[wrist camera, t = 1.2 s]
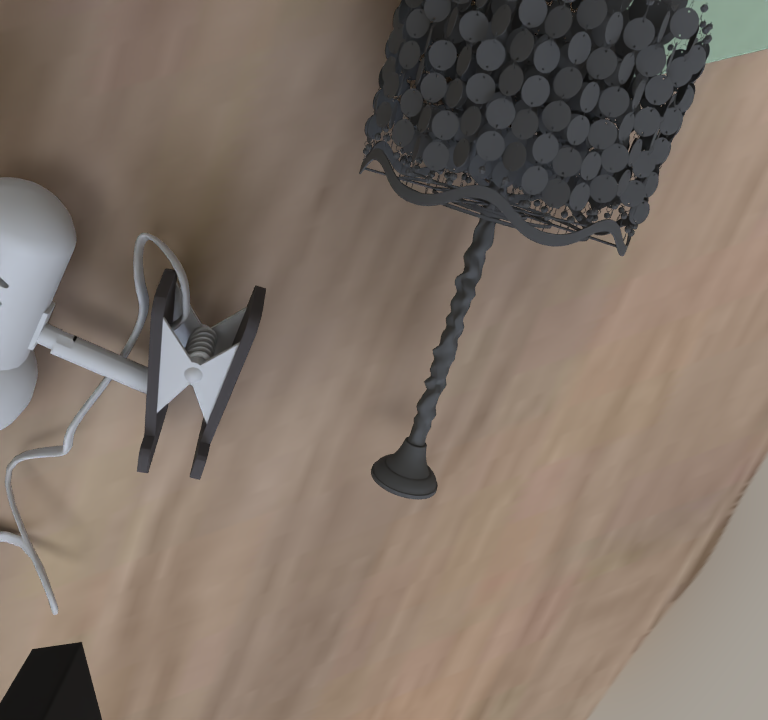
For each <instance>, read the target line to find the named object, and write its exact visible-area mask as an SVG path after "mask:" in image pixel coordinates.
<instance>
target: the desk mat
mask: <svg viewBox="0 0 768 720" xmlns="http://www.w3.org/2000/svg"><path fill="white" fill-rule="evenodd" d="M633 1H634V0H633ZM633 1H632V2H633ZM632 2H631V3H630V5H629V6H631V4H632ZM692 2H693V1H692V0H688V3H687V6H686V7H690V8H691V7H692V9H693V10H695V11H696V13H697V14H698V17H699V25H700V23H701V19H700V17H701V15H702V21H704V20H705V22H706V25H707V24H710V23H711V22H712V23H711V24H713V28H712V29H711V30H710V31H709V32H708V34H707V35H711V36H712V40H711V42H710V43H708V44H709V46H710V53H709V56H708V58H707V60H706V62H705V64H706V63H710V62H714V61H718V60H722V59H726V58H731V57H735V56H739V55H743V54H747V53H752V52H756V51H760V50H764V49H768V0H694V3H692ZM691 3H692V4H691ZM707 3H708V4H707ZM690 4H691V5H690ZM703 4H707V6H708V10H707V11H706V12H704V13H702V12H701V10H700V7H701V6H702V5H703ZM692 5H693V6H692ZM627 9H628V8H627ZM688 12H690V11H689V10H688ZM702 29H703V28H702ZM702 29H701V27H700V26H699V31H698V34H697V37H696V38H698V42H699V41H701V40H703V39H704V38H705V36H706V34H703V33H702ZM700 30H701V32H700ZM699 32H700V33H701V34H699ZM710 33H711V34H710ZM701 35H702V37H703V35H704V38H702V37H701ZM679 36H681V35H679ZM700 38H702V39H700ZM699 39H700V40H699ZM686 40H687V39H682V40H681V39H677V38H676V37H675V38H673V39H672V40H671V41H670V42H669V43H667V44H665V45H664V48H665V54H666V55H668V56H670V54H671V53H672V51H673V50H672V51H669V50H668V49H667V47H668V45H669V44H672V45H674V46H675V44H676V42H678V43H677V44H678V45H677V47H676V50H678V49H684V50H686V48H687V45H688V42H689V39H688V40H687V41H686ZM674 41H675V43H674ZM679 43H680V44H679ZM685 43H686V44H685ZM683 44H685V45H683ZM702 44H703V43H702ZM681 45H682V46H681ZM680 47H681V48H680ZM673 49H674V48H673ZM668 52H669V54H668ZM682 52H683V51H681V53H682ZM668 56H666V63H667V59H668ZM666 68H667V66H666V65H665V67H664V69H663V71H664V70H665V71H664V72H663V71H662V72H663V74H664V73H667V72H666ZM659 74H660V73H659ZM659 74H658V75H659ZM661 74H662V73H661ZM634 77H636V76H635V74H634Z"/></svg>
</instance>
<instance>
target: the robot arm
mask: <svg viewBox="0 0 768 720" xmlns="http://www.w3.org/2000/svg"><path fill="white" fill-rule="evenodd" d="M0 720H102V718H101V714H100V710H99V706H98V702H97V699H96V695H95V691H94V687H93V683H92V680H91V676H90V672H89V668H88V664H87V660H86V657H85V653H84V649H83V645H82V642H79V643H72V644H65V645H58V646H51V647H45V648H38V649H32V651H31V653H30V654H29V656H28V658H27V659H26V661H25V663H24V664H23V666H22V668H21V669H20V671H19V673H18V674H17V676H16V678H15V679H14V681H13V683H12V684H11V686H10V688H9V689H8V691H7V693H6V694H5V696H4V698H3V699H2V701H1V703H0Z"/></svg>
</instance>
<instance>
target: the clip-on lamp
mask: <svg viewBox="0 0 768 720" xmlns="http://www.w3.org/2000/svg"><path fill="white" fill-rule="evenodd" d="M148 240H152V241H153V242H154V243H155V244H156V245H157V246H159V248H160V249H161V250H162V251H163V252H164V254H165V255H166V256H167V258H168V259H169V261H170V262H171V264H172V266H173V268H174V270H171V269H165V270H164V273H163V275H162V278H161V280H160V283H159V285H158V288H157V290H156V293H155V297H154V301H153V306H152V312H151V326H150V344H149V362H148V367H146V366H144V365H141V364H139V363H137V362H134V361H132V360H130V359H127V356H128V355H129V353H130V351H131V349H132V348H133V346H134V344H135V342H136V340H137V338H138V336H139V334H140V332H141V330H142V328H143V325H144V323H145V320H146V317H147V314H148V309H149V296H148V292H147V288H146V284H145V278H144V271H143V250H144V245H145V243H146V241H148ZM76 241H77V239H76V231H75V228H74V224H73V221H72V218H71V215H70V214H69V212H68V210H67V209H66V207H65V206H64V205H63V203H62V202H61V201H60V200H59V199H58V198H57V197H56V196H55V195H54V194H53V193H51V192H50V191H49V190H47V189H46V188H44V187H42V186H41V185H39V184H36V183H34V182H32V181H28V180H24V179H20V178H13V177H1V178H0V430H1V429H3V428H5V427H7V426H8V425H10V424H11V423H12V422H13V421H14V420H15V419H16V418H17V417H18V416H19V415H20V414H21V412H22V411H23V410H24V409H25V408H26V407H27V405H28V404H29V402H30V401H31V398H32V396H33V393H34V389H35V385H36V382H37V377H38V366H37V360H36V356H35V351H34V348H35V346H36V345H37V344H40V345H42V346H44V347H47V348H49V349H52V350H51V353H50V354H53V355H55V356H57V357H60V358H62V359H65V360H67V361H69V362H72V363H74V364H76V365H79V366H81V367H83V368H86V369H88V370H91V371H93V372H95V373H98V374H100V375H102V376H105V378H104V379H103V380H102V382H101V383H100V384H99V386H98V387H97V388H96V390H95V391H94V392H93V394H92V395H91V396H90V397H89V399H88V400H87V401H86V403H85V404H84V405H83V407H82V408H81V409H80V411H79V412H78V413H77V415H76V416H75V417H74V419H73V421H72V422H71V424H70V425H69V427H68V429H67V431H66V434H65V436H64V442H63V446H53V447H44V448H37V449H33V450H28V451H25V452H23V453H21V454H19V455H17V456H15V457H14V459H13V460H12V461H11V462H10V463H9V465H8V466H7V469H6V477H5V487H6V491H7V495H8V500H9V504H10V507H11V510H12V513H13V515H14V518H15V521H16V523H17V526H18V529H19V531H20V534H21V536H20V535H17V534H14V533H11V532H8V531H0V542H8V543H11V544H13V545H16V546H19V547H21V548H22V549H23V551H24V552H25V553H26V554H27V555H28V556H29V557H30V558H31V559H32V562H33V564H34V566H35V569H36V571H37V573H38V575H39V578H40V580H41V582H42V585H43V587H44V590H45V592H46V595H47V598H48V600H49V604H50V607H51V610H52V613H53V614H54V615H56V614H57V613H58V606H57V603H56V600H55V597H54V594H53V591H52V588H51V585H50V582H49V580H48V577H47V574H46V572H45V569H44V566H43V564H42V562H41V561H40V559H39V557H38V555H37V553H36V551H35V549H34V548H33V545H32V543H31V541H30V539H29V536H28V534H27V532H26V530H25V527H24V524H23V522H22V519H21V517H20V514H19V511H18V509H17V506H16V503H15V499H14V495H13V490H12V486H11V476H12V469H13V468H14V467H15V466H16V464H17V463H19V462H21V461H24V460H26V459H32V458H42V457H57V456H63V455H65V454H67V453H68V452H69V450H70V449H71V448H72V446H73V437H74V433H75V431H76V428H77V426H78V425H79V423H80V422H81V420H82V418H83V417H84V415H85V414H86V413H87V411H88V410H89V409H90V408H91V406H92V405H93V404H94V402H95V401H96V400H97V398H98V397H99V396H100V395H101V393H102V392H103V391H104V389H105V388H106V387H107V385H108V384H109V383H110V381H111V380H114V381H117V382H119V383H121V384H124V385H126V386H128V387H131V388H133V389H135V390H138V391H140V392H143V393H145V394H147V398H146V416H145V434H144V438H143V441H142V444H141V447H140V452H139V458H138V466H137V471H138V472H144V473H148V472H149V468H150V465H151V462H152V458H153V455H154V452H155V448H156V445H157V442H158V439H159V435H160V432H161V429H162V425H163V422H164V419H165V415H166V412H167V408H168V404H169V402H170V401H171V400H172V399H173V398H174V397H175V396H177V395H178V394H179V393H180V392H181V391H182V390H183V389H184V388H185V387H187V386H188V385H189V384H190V385H192V386H193V388H194V391H195V394H196V396H197V399H198V402H199V405H200V407H201V410H202V413H203V416H204V418H203V422H202V426H201V430H200V435H199V439H198V443H197V447H196V452H195V456H194V460H193V464H192V469H191V473H190V477H191V478H195V479H199V480H200V478H201V475H202V472H203V469H204V466H205V463H206V460H207V456H208V452H209V447H210V443H211V441H212V439H213V436H214V434H215V431H216V429H217V427H218V424H219V422H220V419H221V417H222V415H223V412H224V410H225V407H226V405H227V403H228V400H229V398H230V395H231V393H232V391H233V388H234V386H235V384H236V381H237V379H238V376H239V374H240V372H241V369H242V367H243V364H244V362H245V360H246V357H247V355H248V352H249V350H250V348H251V345H252V343H253V340H254V338H255V336H256V333H257V330H258V327H259V323H260V320H261V316H262V311H263V305H264V299H265V293H266V288H262V287H259V286H256V285H255V287H254V290H253V292H252V295H251V297H250V300H249V302H248V305H247V307H246V308H244V309H242V310H240V311H239V312H237V313H235V314H233V315H232V316H230V317H228V318H226V319H225V320H223V321H221V322H219V323H217V324H216V325H214V326H212V327H209V326H207V325H205V324H202V323H201V321H200V320H199V318H198V316H197V315H196V313H195V312H194V310H193V308H192V307H191V305H190V290H189V283H188V279H187V276H186V273H185V271H184V269H183V267H182V265H181V263H180V261H179V260H178V258H177V257H176V256H175V254H174V253H173V252H172V251H171V249H170V248H169V247H168V246H167V245H166V244H165V243H164V242H162V241H161V240H160V239H159V238H157V237H155V236H153V235H151V234H149V233H141V234H140V235H139V236H138V237H137V240H136V242H135V248H134V260H133V267H134V281H135V288H136V292H137V297H138V301H139V314H138V319H137V321H136V324H135V327H134V330H133V332H132V334H131V336H130V338H129V340H128V342H127V344H126V345H125V347H124V349H123V351H122V352H121V354H120V355H118V354H116V353H114V352H111V351H109V350H107V349H105V348H102V347H100V346H98V345H95V344H93V343H91V342H89V341H86V340H84V339H82V338H79V337H77V336H74V335H72V334H69V333H67V332H64V331H62V329H59V328H57V327H55V326H52V325H50V324H48V320H49V318H50V316H51V313H52V311H53V309H54V306H55V304H56V303H55V302H53V301H52V300H53V297H54V295H55V293H56V290H57V288H58V286H59V283H60V281H61V279H62V276H63V274H64V272H65V270H66V267H67V265H68V263H69V260H70V258H71V256H72V253H73V251H74V249H75V245H76ZM177 276H178V280H179V283H180V287H181V289H180V287H179V285H178V284H177Z"/></svg>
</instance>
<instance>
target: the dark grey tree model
mask: <svg viewBox="0 0 768 720" xmlns="http://www.w3.org/2000/svg"><path fill="white" fill-rule="evenodd" d="M474 1H475V2H476V3H475V4H476V5H474V6H472V5H471V2H472V0H402V1H401V4H400V6H399V7H398V8H397V9H396V11H395V13H394V17H393V28H394V30H393V31H392V32H391V34H390V36H389V39H388V41H387V43H386V48H385V54H386V58H387V60H386V62H385V64H384V66H383V67H382V69H381V71H380V74H379V86H380V88H382V89H380V90H379V91H378V92H377V93H376V95H375V97H374V100H373V109H374V114H373V115H372V116H371V117H370V118H369V119H368V120H367V122H366V124H365V134H366V136H367V142H368V143H369V144H367V145H366V148H364V150H363V153H364V154H367V155H366V158H365V157H364V158H365V159H363V160H364V161H363V162H362V165H361V169H360V172H359V174H361V173H362V172H363V171H364V170H368V171H371V172H375V173H379V174H382V175H386V176H387V179H388V181H389V183H390V185H391V186H392V188H393V189H394V191H395V192H396V193H397V194H398V195H399V196H400V197H401V198H403V199H404V200H406V201H408V202H410V203H413V204H416V205H421V206H435V205H443V206H446V207H449V208H452V209H454V210H457V211H460V212H463V213H466V214H469V215H472V216H475V217H478V218H480V220H479V223H478V225H477V226H476V228H475V230H474V234H473V242H472V244H471V246H470V247H469V248H468V250H467V251H466V252H465V254H464V263H465V268H464V271H463V273H462V274H460V275H459V276H457V277H456V279H455V286H456V289H457V293H456V295H455V296H454V297H453V299H452V300H451V304H450V305H451V313H450V314H449V315H448V316H447V317H446V324H447V326H446V329H445V330H444V331H443V333H442V335H441V340H440V344H439V346H437V347H436V348H434V349H433V355H434V361H433V363H432V365H431V368H430V372H431V377H429V378H428V379H426V380H425V381H424V382H425V385H426V388H427V390H426V392H425V393H424V394H423V395H422V398H421V399H420V400H419V402H418V404H417V406H416V407H417V411H418V414H417V415H416V416H415V417H414V424H413V427H412V430H411V433H410V436H409V437H407V438H406V439H405V440H404V442H403V444H402V445H401V447H400V448H399V449H398V450H397V451H396V452H395V453H394V454H390V455H386V456H384V457H382V458H380V459H379V460H378V461H377V462H375V463H374V464H373V466H372V469H371V475H372V478H373V479H374V481H375V482H376V483H377V484H378V485H379V486H381V487H382V488H383V489H385V490H387V491H388V492H391V493H393V494H395V495H398V496H401V497H404V498H409V499H426V498H430V497H432V496H433V495H434V494H435V493H436V490H437V487H438V486H437V481H436V477H435V475H434V473H433V471H432V470H431V469H430V467H429V466H428V465H427V462H426V447H427V444H426V443H425V440H426V436H427V433H428V431H429V430H430V428H431V422H432V420H433V419H434V417H435V416H436V409H435V408H436V404H437V401H438V398H439V396H440V394H441V392H442V391H443V389H444V388H445V386H446V376H447V374H448V371H449V367H450V366H451V364H452V362H453V361H454V359H455V354H456V350H457V346H458V343H457V342H458V338H459V337H460V336H461V334H462V332H463V329H464V324H463V318H464V316H465V314H466V313H467V311H468V309H469V307H470V303H471V300H472V299H473V298H474V297H475V295H476V294H475V286H476V284H477V283H478V281H479V280H480V278H481V275H482V268H483V265H484V262H485V253H486V251H487V250H488V249H489V248H490V247H491V246H492V243H493V239H494V229H495V224H496V223H498V224H502V225H505V226H509V227H512V228H516V229H517V230H518V231H519V232H520V233H522V234H523V235H524V236H525V237H527V238H528V239H530V240H532V241H534V242H536V243H539V244H542V245H547V246H565V245H570V244H573V243H575V242H578V241H587V240H588V239H589V238H590V239H593V240H596V241H599V242H602V243H605V244H608V245H611V246H613V247H616V248H617V251H618V253H619V255H620V256H624V254H625V252H626V250H627V247H628V245H629V242H630V239H631V236H633V235H634V232H635V231H634V230H633V229H637V227H638V224H640V223H642V222H643V221H644V220H645V219H646V218H647V216H648V214H649V210H650V209H649V204H648V197H650V196H651V195H652V194H653V193H654V192H655V190H656V188H657V186H658V180H659V179H658V176H659V167H660V166H661V167H662V164H663V163H664V162H665V161H666V159H667V157H668V155H669V153H670V149H671V142H672V140H673V138H674V136H675V135H676V134H677V133H678V132H679V130H680V128H681V125H682V121H683V116H684V114H685V112H686V110H688V108H689V107H690V106H691V104H692V102H693V98H694V94H695V85H694V83H695V82H694V81H695V80H696V79H697V78H699V77H700V75H701V74H702V72H703V70H704V67H705V62H706V60H707V58H708V56H709V53H710V46H709V44H708V43H710V42H711V40H712V36H711V35H707V34H708V32H709V31H710V30H711V29H712V28H713V24H711V23H712V22H711V23H710V24H707V25H706V22H705V20H704V21H702V15H701V17H700V19H701V23H700V25H699V17H698V14H697V13H696V11H695V10H693V9H692V7H691V8H690V7H686V6H687V3H688V0H634V1H633V0H558V1H557V0H553V2H552V5H551V6H549V5H550V4H549V5H547V4H546V2H550V1H552V0H474ZM545 1H546V2H545ZM632 1H633V2H632ZM692 1H693V2H692V3H694V0H692ZM571 2H572V9H575V11H576V8H577V9H578V10H577V12H576V13H573V12H571V10H570V4H569V3H571ZM631 2H632V4H631V6H629V5H630V3H631ZM692 3H691V4H692ZM691 4H690V5H691ZM707 4H708V3H707ZM707 4H703V5H702V6H701V7H700V10H701V12H702V13H704V12H706V11H707V10H708V6H707ZM578 6H579V7H578ZM692 6H693V5H692ZM476 8H477V9H476ZM627 8H628V9H627ZM688 10H689V11H690V12H688ZM572 11H573V10H572ZM572 15H573V17H572ZM434 17H435V19H433V18H434ZM430 20H431V21H433V22H432V23H430V22H431V21H430ZM699 26H700V27H701V29H702V28H703V29H702V33H703V34H706V36H705V38H704V35H703V37H702V35H701V37H702V38H704V39H703V40H701V41H699V42H698V38H696V37H697V34H698V31H699ZM537 30H539V32H538V31H537ZM700 32H701V30H700ZM700 32H699V34H701V33H700ZM535 33H537V34H538V35H537V34H536V36H535ZM710 34H711V33H710ZM679 35H681V36H679ZM565 37H566V39H565ZM675 37H676V38H677V39H681V40H682V39H687V40H688V39H689V42H688V45H687V48H686V50H684V49H678V50H676V47H677V45H678V44H677V43H678V42H676V44H675V46H674V45H672V44H669V45H668V47H667V49H668V50H669V51H672V50H673V51H672V53H671V54H670V56H668V55H666V54H665V48H664V45H665V44H667V43H669V42H670V41H671V40H672V39H673V38H675ZM702 38H700V39H702ZM700 39H699V40H700ZM687 40H686V41H687ZM432 42H433V43H432ZM674 43H675V41H674ZM702 43H703V44H702ZM679 44H680V43H679ZM685 44H686V43H685ZM685 44H683V45H685ZM430 45H431V47H430V48H429V46H430ZM681 46H682V45H681ZM673 48H674V49H673ZM680 48H681V47H680ZM681 51H683V52H682V53H681ZM457 53H458V54H460V55H459V56H458V57H457ZM422 54H425V55H424V57H423V58H421V59H422V60H421V61H420V60H419V58H420V57H421V55H422ZM668 54H669V52H668ZM666 56H668V59H667V63H666ZM665 65H666V66H667V68H666V72H667V76H665V75H661V73H662V74H663V72H664V71H665V70H664V71H663V69H664V67H665ZM423 68H424V71H425V73H422V72H424V71H423ZM401 71H402V72H403V73H401ZM426 71H429V72H430V74H428V73H426ZM662 71H663V72H662ZM659 73H660V74H659ZM634 74H635V76H636V77H634ZM658 74H659V75H658ZM400 75H401V76H400ZM423 75H424V76H423ZM437 76H438V77H437ZM449 76H450V78H451V79H452V80H453V81H450V82H448V83H447V82H446V80H445V78H446V77H449ZM409 77H410V78H409ZM663 78H664V80H663ZM407 79H408V80H416V81H415V85H416V89H414V88H413V87H412V88H411V89H410V84H409V83H407ZM677 88H679V89H677ZM414 91H415V93H414ZM675 91H676V92H677V93H676V94H674V95H673V92H675ZM401 94H402V95H401ZM388 95H389V97H388ZM400 95H401V101H400V102H399V101H398V100H397V99H398V98H399V96H400ZM672 95H673V96H672ZM394 96H398V98H397V97H396V98H397V99H396V98H395V99H394V98H393V97H394ZM515 96H516V97H515ZM424 99H425V100H426V101H427V102H428V103H427V104H429V102H430V103H431V105H427V104H426V103H423V101H424ZM441 99H442V102H443V103H444V104H445V105H439V106H438V105H437V106H436V105H433V103H437V102H438V101H440V100H441ZM631 99H632V100H631ZM393 100H394V102H393ZM515 100H517V101H515ZM664 103H666V104H664ZM437 104H438V103H437ZM639 104H641V106H642V107H643V109H641V107H640V105H639ZM425 105H426V106H425ZM661 105H662V107H661ZM445 107H446V108H445ZM451 108H454V109H453V111H452V109H451ZM403 114H404V115H406V116H407V117H408V118H409V120H410V121H409V120H407V119H402V118H403ZM605 118H608V119H610V121H609V120H606V119H605ZM615 119H616V121H615ZM606 122H607V124H605V123H606ZM388 123H389V127H388V126H387V124H388ZM614 123H617V128H618V129H619V130H618V129H617V128H616V125H614ZM393 124H394V127H393V129H392V132H391V133H392V136H391V138H392V140H394V142H395V144H396V145H398V146H400V147H403V148H402V149H401V150H400V151H401V153H402V155H403V154H404V153H405V152H406V153H407V156H408V155H410V156H408V158H407V156H406V155H405V154H404V155H405V156H403V157H401V158H400V153H398V152H399V151H398V152H395V153H393V151H392V149H391V148H392V147H390V146H389V144H388V143H387V141H389V140H390V139H391V138H390V136H389V134H391V133H388V135H385V134H384V136H383V140H385V141H386V142H385V141H379V142H377V141H376V144H375V142H374V144H373V148H372V145H371V140H372V139H373V141H374V139H375V140H380V138H381V132H382V128H383V129H384V131H385V132H388V130H389V129H391V128H392V126H393ZM417 124H418V128H417ZM509 125H511V128H509ZM428 128H429V130H428ZM418 129H419V130H418ZM659 129H660V130H659ZM634 130H635V132H636V134H637V135H640V137H639V136H638V137H639V139H637V138H634V141H633V143H632V146H631V148H630V151H629V153H628V149H629V145H630V144H629V138H630V136H629V135H630V133H631V132H632V131H634ZM658 131H659V133H658ZM536 132H537V133H538V134H537V135H534V134H535V133H536ZM642 132H643V133H642ZM657 134H658V135H657ZM634 135H635V134H634ZM636 140H637V141H636ZM449 141H450V142H449ZM400 142H401V144H400ZM372 143H373V142H372ZM392 145H393V142H392V144H391V146H392ZM592 147H594V149H593V150H590V151H589V149H590V148H592ZM396 148H397V146H396ZM644 149H645V151H644ZM396 150H397V149H396ZM369 151H370V152H369ZM410 152H412V153H410ZM387 157H388V158H387ZM399 158H400V161H399V160H398V159H399ZM388 159H389V160H388ZM373 160H377V161H378V162H379V163H380V164H381V165H382V167H383V169H384V171H385V173H383V172H380V171H376V170H373V169H369V168H366V167H367V165H368V164H369V163H370V162H371V161H373ZM415 160H416V163H417V162H418V165H419V163H420V164H421V163H422V160H423V161H424V163H425V165H426V166H427V167H424V168H420V167H419V166H418V165H415V166H413V167H410V165H411V162H412V163H413V165H414V164H415ZM389 161H390V162H389ZM390 163H391V164H390ZM403 164H405V165H403ZM550 164H551V165H550ZM391 165H392V166H393V168H394V169H395V170H396V171H398V172H399V173H400V175H401V174H402V175H405V176H409V177H405V176H404V177H397V176H396V174H395V173H394V171H393V170H394V169H392V166H391ZM551 167H552V168H551ZM444 169H446V170H447V169H448V171H449V170H450V171H449V172H454V173H449V172H446V171H445V172H446V173H445V174H444V176H445V178H447V180H446V182H447V184H446V182H445V183H443V182H442V183H441V182H438V181H439V179H440V175H439V176H438V181H436V180H433V179H432V178H433V177H434V176H435V172H437V173H438V174H442V173H443V172H444ZM453 169H455V170H453ZM632 170H633V171H632ZM460 172H463V173H465V174H463V175H462V180H463V181H464V180H466V182H467V184H468V183H470V182H471V181H472V180H471V178H470V176H469V177H467V174H466V173H469V174H470V175H471V177H472V178H473V179H474V180H475V181H476V182H477V183H478V185H476V184H475V183H476V182H475V183H474V185H470V186H467V185H466V186H465V187H462V186H463V183H462V182H461V183H462V184H461V185H460V186H461V187H458V186H454V185H452V183H453V180H456V178H457V174H456V173H460ZM632 172H633V173H634V177H635V176H637V178H636V177H635V179H634V180H631V181H630V178H632V177H633V176H632ZM579 173H580V175H579ZM469 174H468V175H469ZM639 174H640V175H639ZM400 175H399V176H400ZM427 175H428V176H427ZM426 176H427V177H426ZM576 176H577V177H576ZM631 176H632V177H631ZM415 177H423V178H425V179H421V178H415ZM485 178H486V179H488V180H489V181H490V182H489V183H490V184H489V183H488V182H487V181H486V180H485ZM400 180H403V181H406V185H407V182H410V183H414V184H417V185H421V186H424V187H428V188H431V189H433V191H432V192H433V193H434V194H427V193H426V192H425V194H423V193H420V192H418V191H416V190H414V189H412V188H410V187H408V186H406V185H404V184H403V183H401V182H400ZM411 180H414V181H411ZM443 180H444V179H443ZM415 181H421V182H427V185H426V184H422V183H419V182H415ZM428 183H429V184H428ZM430 183H432V184H436V185H442V186H445V187H448V188H441V187H437V186H436V187H433V186H429V185H430ZM412 185H413V184H412ZM510 185H513V187H514V188H518V187H519V189H520V190H522V191H523V193H524V194H521V195H519V194H520V193H518V195H517V194H514V188H513V189H512V191H513V193H511V194H510V193H507V187H509V186H510ZM449 188H450V189H449ZM426 189H427V188H426ZM515 190H516V189H515ZM426 191H428V190H426ZM437 191H442V193H438V192H437ZM531 191H532V192H531ZM462 198H465V199H470V200H474V201H477V202H473V201H466V200H464V199H462ZM540 198H541V200H542V203H543V201H544V202H545V206H543V207H542V208H541V207H540V208H541V212H539V211H536V210H535V209H531V208H530V207H529V206H530V205H531V202H530V201H534V200H535V201H534V206H536V207H537V206H539V205H540V201H539V200H540ZM537 199H539V200H537ZM588 201H589V203H590V204H589V205H591V208H590V210H588V211H587V212H586V213H587V215H588V217H587V218H586V217H585V216H584V215H583V214H582V212H581V210H582V209H584V207H585V206H586V204H587V202H588ZM448 202H452V203H454V204H457V205H459V206H462V207H465V208H467V209H471V210H473V211H476V212H480V213H481V214H478V213H474V212H471V211H468V210H465V209H462V208H459V207H457V206H454V205H451V204H448ZM464 203H465V204H464ZM516 203H518V204H516ZM542 203H541V204H542ZM620 203H623V204H624V205H625V206H628V207H630V210H629V211H630V212H629V214H628V215H629V216H627V213H626V212H628V211H625V210H624V208H623V207H620V208H619V209H618V210H619V212H620V213H622V214H621V219H620V220H618V221H616V222H615V221H613V220H610V218H611V217H610V216H612V213H613V210H612V209H617V208H618V206H619V205H620ZM628 203H630V204H628ZM466 204H467V205H466ZM477 204H480V205H482V206H483V207H482V206H479V205H477ZM546 204H547V205H548V206H549V208H550V207H552V209H551V210H553V208H556V210H557V209H559V208H560V207H561V206H563V205H566V206H568V207H569V209H570V210H571V212H572V216H569V217H568V218H567V220H563V219H562V218H561V219H559V218H555V217H554V215H553V216H551V214H549V213H546V212H547V211H548V207H546V206H547V205H546ZM469 205H470V206H469ZM511 205H513V206H511ZM610 205H611V206H610ZM514 206H516V207H514ZM540 206H542V205H540ZM566 206H565V207H566ZM606 206H607V208H608V207H609V208H612V209H611V210H612V213H611V215H610V214H609V213H605V214H604V217H605V218H609V217H610V218H609V219H605V220H601V221H598V222H596V223H592V221H593V222H594V221H597V220H598V216H597V214H598V212H599V211H600V212H601V208H604V207H606ZM621 206H622V205H621ZM517 207H519V208H517ZM528 207H529V208H528ZM536 207H535V208H536ZM594 207H595V208H594ZM520 208H522V209H520ZM523 209H525V210H528V211H531V212H528V211H525V210H523ZM569 209H568V210H569ZM591 209H592V210H591ZM539 210H540V209H539ZM551 210H550V211H551ZM565 210H566V208H565V209H564V211H563V212H562V213H561V216H562V217H563V218H566V217H567V216H568V213H567V212H566V211H565ZM598 210H599V211H598ZM585 211H586V208H585ZM624 211H625V212H624ZM532 212H533V213H532ZM555 212H556V211H555ZM607 212H610V211H607ZM524 213H525V214H526V215H525V214H524ZM550 213H551V212H550ZM584 213H585V212H584ZM527 214H528V215H530V216H528V215H527ZM555 214H556V213H555ZM599 214H600V213H599ZM521 216H522V217H521ZM531 216H532V217H531ZM573 216H574V217H575V219H576V220H577V221H578V222H575V221H574V217H573ZM619 216H620V215H619ZM619 216H618V218H617V219H619ZM534 217H535V218H534ZM542 217H544V218H542ZM527 218H530V219H531V220H532V219H533V220H536V221H539V222H542V223H544V224H548V225H540V223H539V224H534V223H531V222H530V223H529V222H526V221H525V220H527ZM499 219H503V220H506V221H510V222H511V223H508V222H504V221H501V220H499ZM550 219H552V220H555V221H557V222H560V223H562V224H564V225H566V226H568V227H567V228H568V229H567V228H564V227H561V225H562V224H560V226H558V225H555V224H552V222H550V221H548V220H550ZM635 221H636V222H635ZM570 223H572V224H576V226H577V225H581V226H582V227H583V229H580V228H578V227H576V226H574V225H572V224H570ZM552 226H554V227H557V228H559V229H563V230H566V233H567V231H569V232H572V233H568V234H558V233H557V234H552V233H547V232H543V230H542V231H540V230H538V229H536V228H534V227H537V228H543V229H544V228H551V227H552ZM623 226H626V227H625V232H626V233H628V238H627V243H626V245H625V244H624V242H623V241H624V238H625V237H626V235H625V237H624V238H622V234H621V230H620V227H623ZM569 227H571V228H573V229H575V230H577V231H575V230H574V231H573V230H570V229H569ZM558 232H559V231H558ZM610 233H611V234H612V235H613V237H614V240H615V243H616V245H615V244H612V243H609V242H606V241H603V240H600V239H597V238H594V237H591V236H590V235H592V234H595V235H607V234H610Z"/></svg>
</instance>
